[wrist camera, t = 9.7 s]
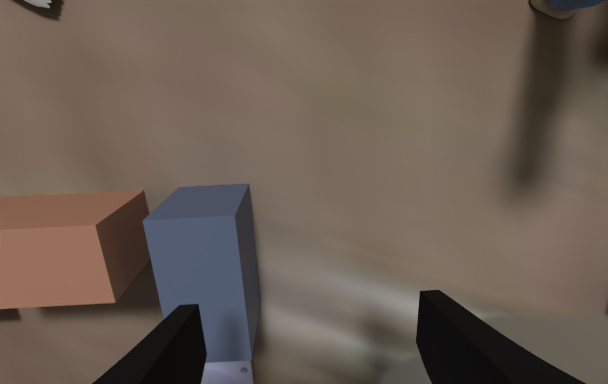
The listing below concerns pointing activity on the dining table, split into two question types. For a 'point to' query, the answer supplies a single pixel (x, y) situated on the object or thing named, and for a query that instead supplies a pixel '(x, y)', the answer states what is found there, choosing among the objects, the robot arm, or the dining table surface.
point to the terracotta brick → (70, 248)
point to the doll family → (562, 6)
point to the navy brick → (209, 264)
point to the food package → (39, 3)
